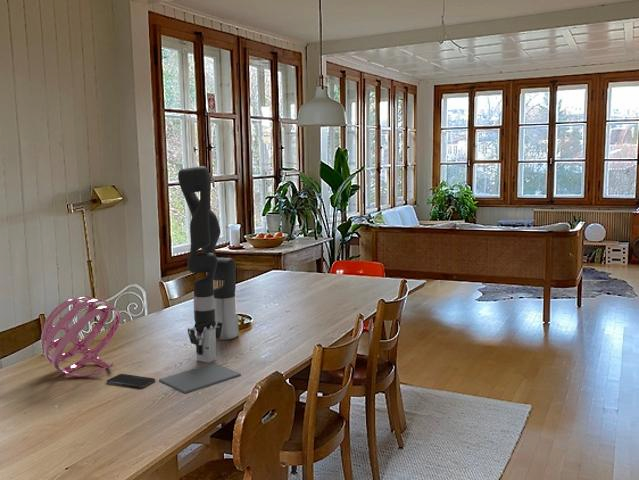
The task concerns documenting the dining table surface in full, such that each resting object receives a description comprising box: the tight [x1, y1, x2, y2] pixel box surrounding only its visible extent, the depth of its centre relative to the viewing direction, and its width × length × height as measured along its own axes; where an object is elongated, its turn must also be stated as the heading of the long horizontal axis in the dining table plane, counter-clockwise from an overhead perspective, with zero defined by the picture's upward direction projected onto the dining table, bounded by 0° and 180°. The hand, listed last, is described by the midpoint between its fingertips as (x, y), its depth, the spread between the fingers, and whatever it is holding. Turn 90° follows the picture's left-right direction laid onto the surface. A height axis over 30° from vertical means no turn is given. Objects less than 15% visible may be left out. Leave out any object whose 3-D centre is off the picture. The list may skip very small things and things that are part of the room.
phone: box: [106, 373, 156, 390], centre depth 203 cm, size 8×1×15 cm
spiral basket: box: [40, 295, 122, 378], centre depth 213 cm, size 28×28×27 cm
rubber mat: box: [158, 362, 242, 394], centre depth 206 cm, size 22×16×1 cm
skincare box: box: [195, 328, 217, 364], centre depth 223 cm, size 6×4×12 cm
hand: (206, 352), depth 224 cm, fingers closed on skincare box, 5 cm apart
